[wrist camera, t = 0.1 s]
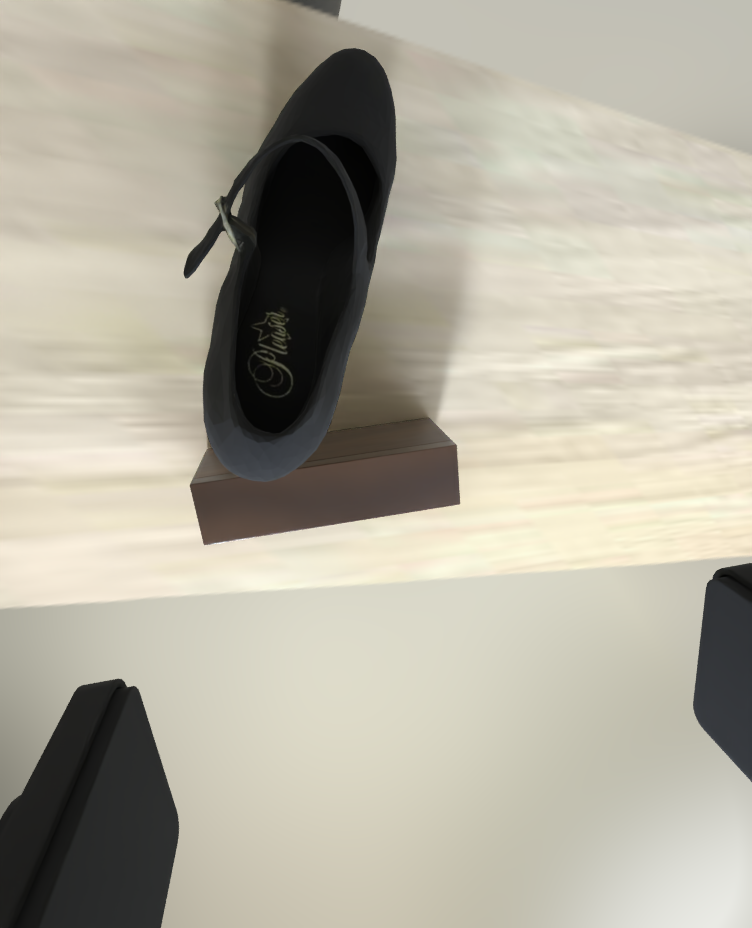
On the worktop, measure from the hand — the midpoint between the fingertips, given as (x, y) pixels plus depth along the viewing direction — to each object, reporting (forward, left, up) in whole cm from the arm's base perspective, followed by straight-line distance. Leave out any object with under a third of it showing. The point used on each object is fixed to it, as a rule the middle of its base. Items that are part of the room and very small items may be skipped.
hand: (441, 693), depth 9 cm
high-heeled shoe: (-8, -1, -31) cm, 32 cm away
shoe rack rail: (+5, -1, -31) cm, 31 cm away
